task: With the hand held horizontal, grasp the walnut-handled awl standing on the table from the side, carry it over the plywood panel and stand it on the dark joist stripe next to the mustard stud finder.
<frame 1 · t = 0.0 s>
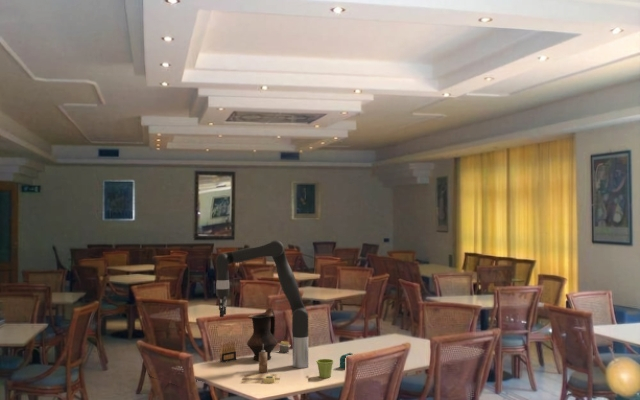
hand: (222, 315, 372), 29 cm above the table, tool pointing down, fingers open, 8 cm apart
jug: (263, 359, 391), on the table
plywood panel: (261, 380, 340), on the table
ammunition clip: (228, 361, 386), on the table
stud finder: (269, 381, 335), point 1 cm above the table, touching plywood panel
bracket: (356, 369, 366), on the table
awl: (263, 374, 353), on the table
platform: (285, 352, 411), on the table
plant pot: (325, 377, 348), on the table
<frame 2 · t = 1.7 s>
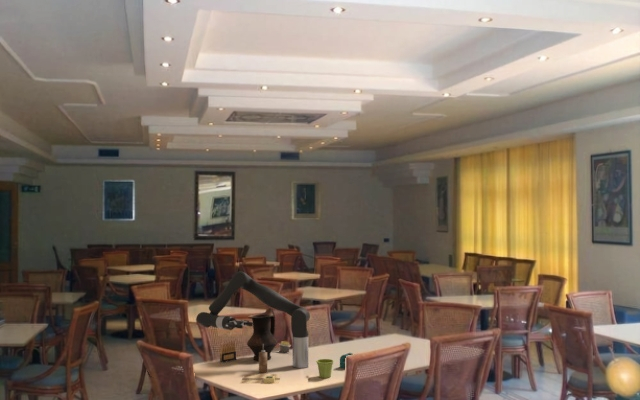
hand: (247, 325, 360), 26 cm above the table, tool horizontal, fingers open, 8 cm apart
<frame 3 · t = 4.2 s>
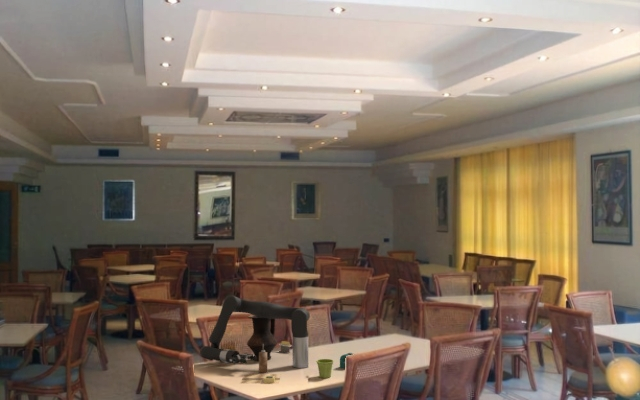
hand: (251, 359, 358), 7 cm above the table, tool horizontal, fingers open, 8 cm apart
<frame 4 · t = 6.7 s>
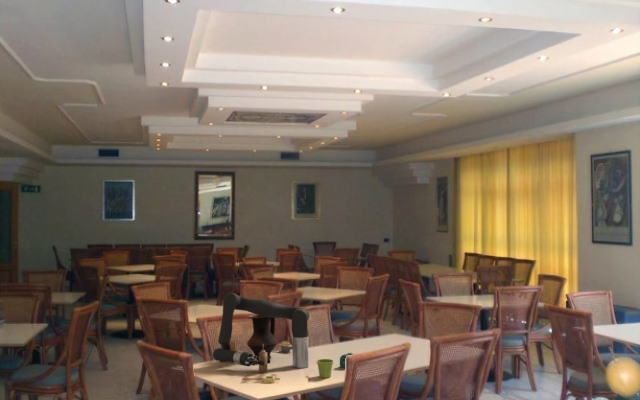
hand: (267, 362, 352), 7 cm above the table, tool horizontal, fingers closed on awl, 4 cm apart
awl: (263, 374, 353), on the table, touching gripper
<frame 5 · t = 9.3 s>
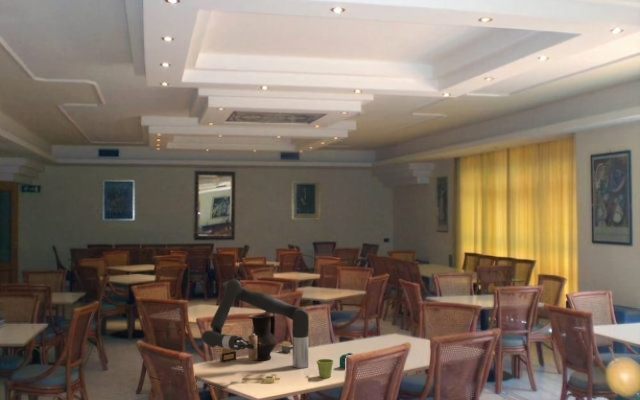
hand: (256, 346, 338), 19 cm above the table, tool horizontal, fingers closed on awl, 4 cm apart
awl: (252, 358, 339), point 12 cm above the table, touching gripper
when the fingers open (9 cm above the table, at t = 11.9 s): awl drops 1 cm, resting on plywood panel.
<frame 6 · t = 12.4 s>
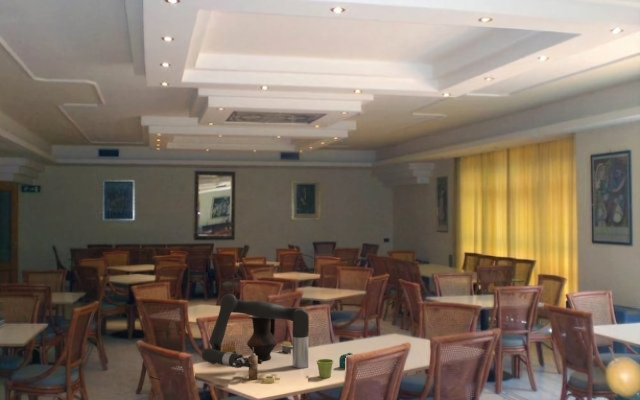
hand: (256, 363, 338), 10 cm above the table, tool horizontal, fingers open, 8 cm apart
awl: (253, 379, 339), point 1 cm above the table, touching plywood panel
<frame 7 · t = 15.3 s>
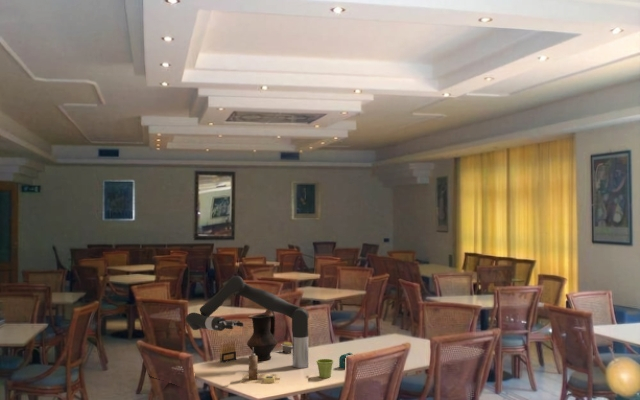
hand: (237, 325, 348), 28 cm above the table, tool horizontal, fingers open, 8 cm apart
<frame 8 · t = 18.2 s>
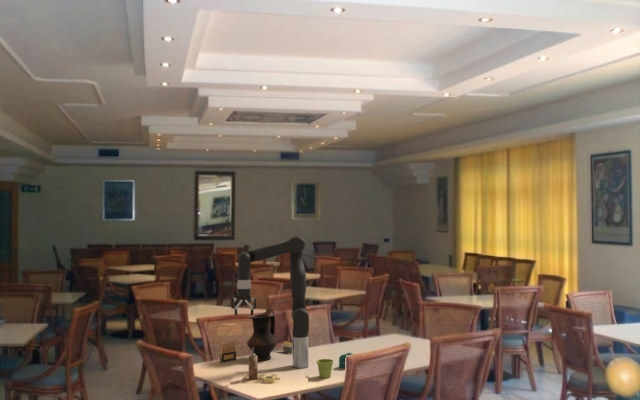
hand: (244, 315, 367), 30 cm above the table, tool pointing down, fingers open, 8 cm apart
at the end: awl inside the target area (1.1 cm from its centre), point 1.2 cm above the table; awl tilted 0°; the gripper is holding nothing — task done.
